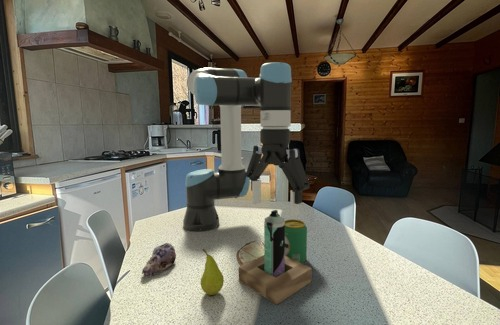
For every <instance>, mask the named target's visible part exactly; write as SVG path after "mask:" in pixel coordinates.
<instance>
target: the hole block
mask: <svg viewBox="0 0 500 325" xmlns="http://www.w3.org/2000/svg"><path fill="white" fill-rule="evenodd" d="M237 269H238V281H239V282H240V283H242V284H243V285H245V286H247V287H249V288H250V289H252V290H253V291H255V292H256V293H257V294H258V295H260V296H262V297H263V298H264V299H266V300H268V301H269V302H271V303H273V304H274V305H275V306H277V305H279V304H280V303H282V302H283V301H284V300H287V298H290V297H291V296H292V295H294V294H295V293H297V292H298V291H300V290H301V289H303V288H304V287H306V286H307V285H308V284H310V283H311V282H312V270H313V269H312V267H310V266H308V265H306V264H304V263H303V264H302V263H300V262H297V261H295V260H293V259H291V258H289V257H287V256H285V273H283V274H281V275H279V276H278V277H276V278H275V277H273V276H272V275H270V274H268V273H266V272H264V254H263V255H261V256H258V257H257V258H254V259H252V260H250V261H249V262H246V263H243V264H242V265H240V266H238V268H237Z"/></svg>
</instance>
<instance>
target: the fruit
mask: <svg viewBox="0 0 500 325" xmlns="http://www.w3.org/2000/svg"><path fill="white" fill-rule="evenodd" d="M202 251H203V252H204V253H205V255H206V257H205V258H206V261H205V263H204V269H203V273H202V275H201V277H200V287H201V289H202V291H203V293H205V294H206V295H209V296H214V295H217V294H218V293H219V292H220V291H221V290H222V288H223V286H224V275H223V273H222V272H221V270H220V268H219V266H218V263H217V261H216V259H215V258H214V256H212V255H211V254H208V253H207V250H206V249H204V248H203V249H202Z"/></svg>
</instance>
